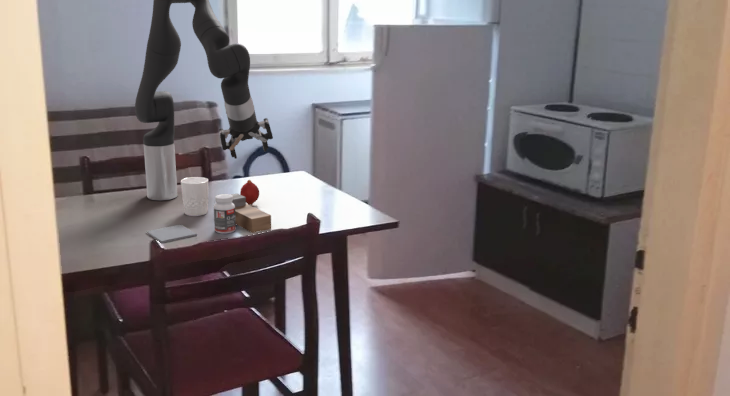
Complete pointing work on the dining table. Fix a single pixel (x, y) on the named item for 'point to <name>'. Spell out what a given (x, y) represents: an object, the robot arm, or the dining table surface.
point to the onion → (250, 192)
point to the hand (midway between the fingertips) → (250, 153)
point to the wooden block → (250, 215)
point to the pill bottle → (224, 214)
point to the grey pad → (171, 233)
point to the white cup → (195, 195)
